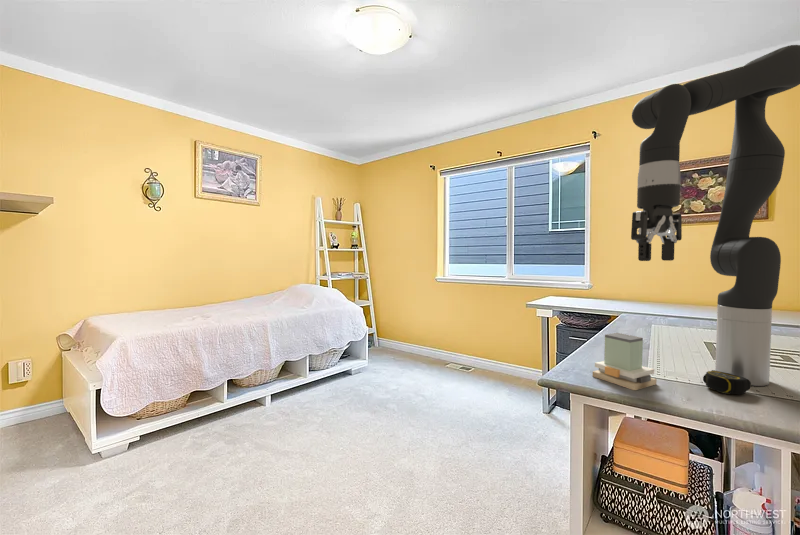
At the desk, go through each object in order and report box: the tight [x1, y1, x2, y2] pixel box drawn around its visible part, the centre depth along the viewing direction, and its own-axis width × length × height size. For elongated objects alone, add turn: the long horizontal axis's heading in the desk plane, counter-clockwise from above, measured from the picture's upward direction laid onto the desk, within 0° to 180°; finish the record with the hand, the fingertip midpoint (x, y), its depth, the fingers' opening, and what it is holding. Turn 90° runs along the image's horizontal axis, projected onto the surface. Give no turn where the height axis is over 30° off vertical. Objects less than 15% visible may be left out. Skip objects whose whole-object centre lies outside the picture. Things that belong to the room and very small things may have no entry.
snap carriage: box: [594, 360, 655, 382], centre depth 84 cm, size 8×9×2 cm
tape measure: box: [702, 369, 752, 395], centre depth 78 cm, size 7×7×4 cm
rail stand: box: [592, 369, 658, 391], centre depth 85 cm, size 8×10×2 cm
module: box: [603, 332, 644, 371], centre depth 84 cm, size 5×6×7 cm
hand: (656, 260), depth 78 cm, fingers open, 8 cm apart
